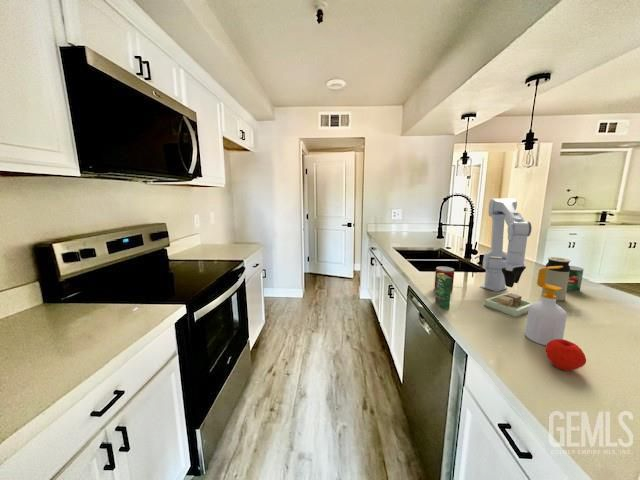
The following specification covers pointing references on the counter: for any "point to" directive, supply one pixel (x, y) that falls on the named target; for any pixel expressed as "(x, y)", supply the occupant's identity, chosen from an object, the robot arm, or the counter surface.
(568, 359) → the apple
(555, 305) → the soap bottle
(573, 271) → the canned tomato
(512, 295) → the block
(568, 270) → the travel mug
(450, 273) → the canned food
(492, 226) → the robot arm
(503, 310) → the tray
